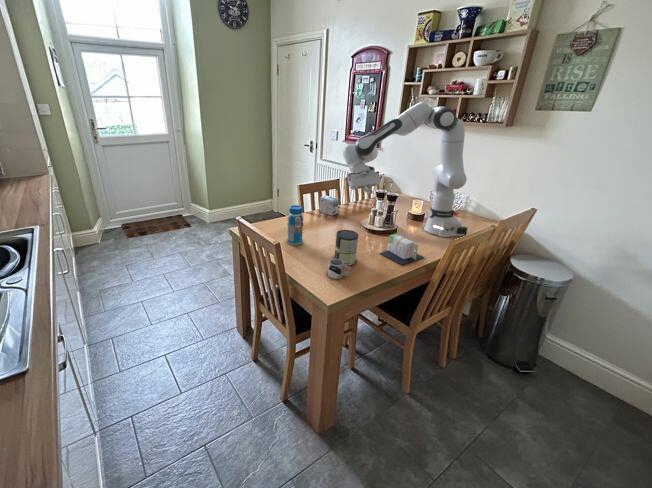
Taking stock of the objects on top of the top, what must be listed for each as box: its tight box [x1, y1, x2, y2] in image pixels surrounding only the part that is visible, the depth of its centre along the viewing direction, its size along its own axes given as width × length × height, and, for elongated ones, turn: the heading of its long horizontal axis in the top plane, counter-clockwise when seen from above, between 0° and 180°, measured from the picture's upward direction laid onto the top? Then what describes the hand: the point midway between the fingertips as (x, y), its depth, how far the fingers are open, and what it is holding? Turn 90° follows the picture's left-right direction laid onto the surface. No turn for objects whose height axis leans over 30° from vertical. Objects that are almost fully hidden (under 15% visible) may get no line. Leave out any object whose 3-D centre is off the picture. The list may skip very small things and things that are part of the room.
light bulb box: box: [319, 195, 340, 217], centre depth 220 cm, size 11×7×11 cm, turn 47°
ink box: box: [386, 233, 419, 259], centre depth 164 cm, size 9×5×15 cm
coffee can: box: [333, 229, 359, 266], centre depth 157 cm, size 10×10×14 cm
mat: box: [379, 250, 424, 266], centre depth 165 cm, size 14×16×1 cm
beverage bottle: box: [286, 204, 304, 246], centre depth 174 cm, size 8×8×20 cm
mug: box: [327, 258, 352, 280], centre depth 145 cm, size 10×7×7 cm, turn 69°
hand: (370, 193), depth 177 cm, fingers closed
